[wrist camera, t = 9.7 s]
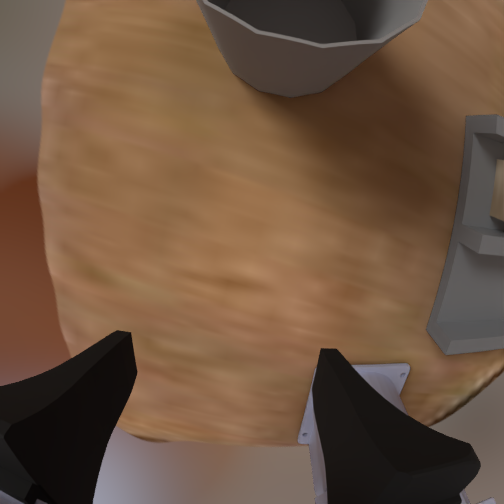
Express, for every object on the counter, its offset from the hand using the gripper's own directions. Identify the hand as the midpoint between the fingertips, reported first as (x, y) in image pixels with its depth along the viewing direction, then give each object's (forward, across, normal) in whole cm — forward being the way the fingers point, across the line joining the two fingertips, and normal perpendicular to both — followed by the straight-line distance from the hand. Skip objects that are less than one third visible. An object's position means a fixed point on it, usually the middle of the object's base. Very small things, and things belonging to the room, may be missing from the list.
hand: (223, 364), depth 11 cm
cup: (+10, -2, -15) cm, 18 cm away
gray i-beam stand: (+9, -19, -4) cm, 22 cm away
